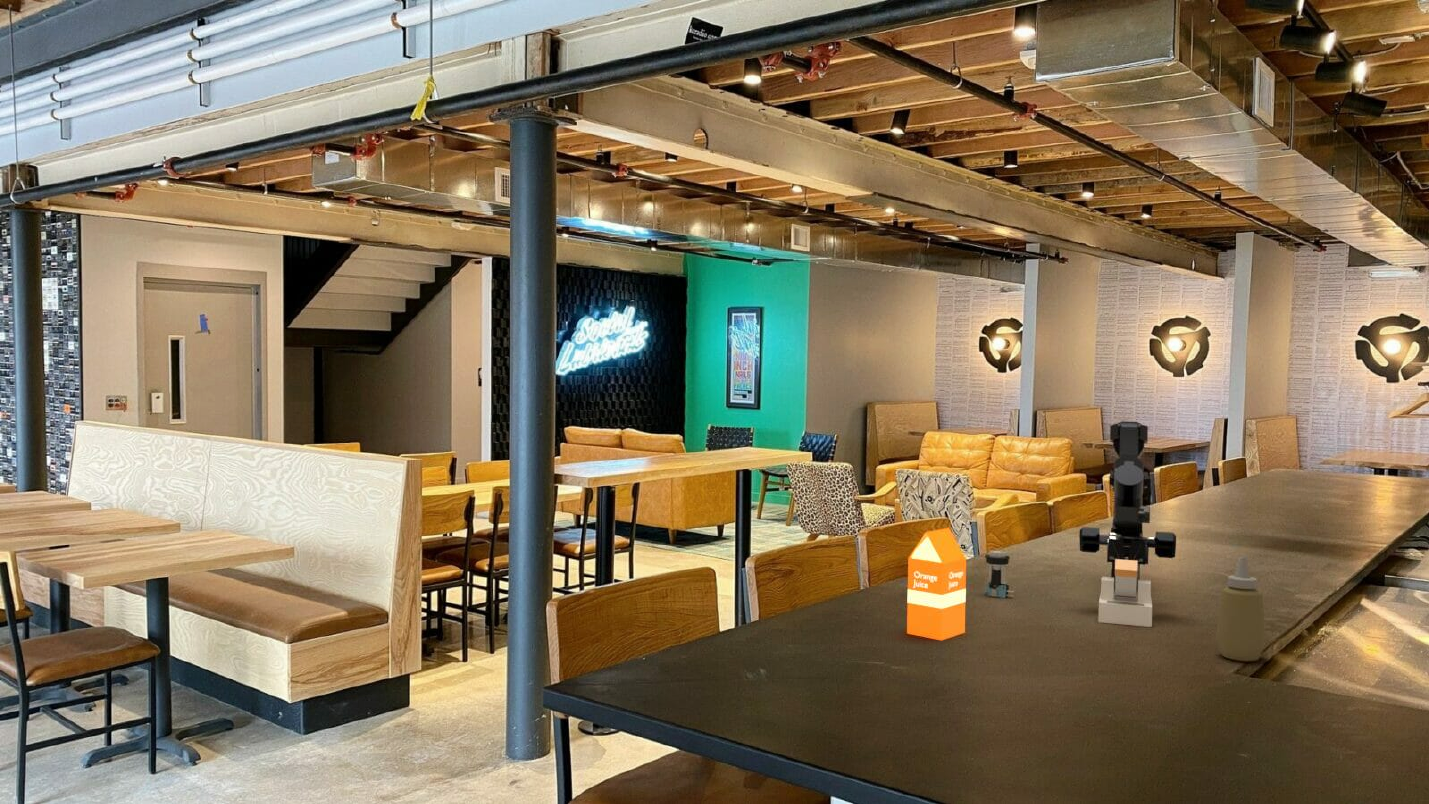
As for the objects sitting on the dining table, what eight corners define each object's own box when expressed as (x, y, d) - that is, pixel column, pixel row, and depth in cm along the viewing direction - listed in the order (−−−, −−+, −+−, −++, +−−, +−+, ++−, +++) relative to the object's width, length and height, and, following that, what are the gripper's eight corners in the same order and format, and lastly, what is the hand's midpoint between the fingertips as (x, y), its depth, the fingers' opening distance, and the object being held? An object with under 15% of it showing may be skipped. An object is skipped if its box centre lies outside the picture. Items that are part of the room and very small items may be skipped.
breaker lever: (1114, 589, 219) (1115, 559, 214) (1136, 591, 218) (1137, 560, 212) (1114, 599, 217) (1114, 569, 212) (1136, 601, 215) (1137, 570, 210)
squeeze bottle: (1261, 654, 190) (1264, 555, 190) (1269, 666, 182) (1272, 562, 182) (1212, 650, 193) (1215, 552, 192) (1218, 661, 185) (1220, 559, 185)
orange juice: (965, 632, 204) (967, 529, 203) (941, 640, 197) (943, 534, 197) (930, 625, 209) (932, 525, 209) (905, 633, 203) (907, 529, 202)
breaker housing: (1100, 611, 224) (1100, 573, 224) (1151, 615, 220) (1151, 577, 220) (1098, 622, 214) (1099, 582, 213) (1151, 627, 210) (1152, 587, 210)
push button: (1018, 596, 238) (1019, 552, 237) (1008, 600, 233) (1009, 555, 233) (991, 592, 242) (991, 549, 242) (980, 596, 238) (981, 551, 238)
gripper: (1080, 489, 223) (1076, 550, 213) (1177, 493, 216) (1177, 557, 206) (1081, 520, 230) (1078, 580, 221) (1174, 526, 224) (1175, 588, 214)
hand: (1126, 576), depth 215 cm, fingers closed, pressing on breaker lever
